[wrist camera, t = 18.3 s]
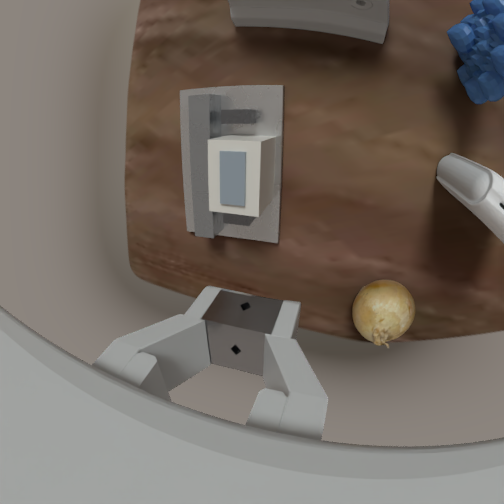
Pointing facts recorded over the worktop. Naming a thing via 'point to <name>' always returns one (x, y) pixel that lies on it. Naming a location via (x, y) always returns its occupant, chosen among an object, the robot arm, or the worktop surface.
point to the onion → (383, 311)
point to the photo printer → (475, 189)
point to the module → (241, 173)
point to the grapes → (481, 50)
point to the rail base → (222, 124)
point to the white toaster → (316, 16)
